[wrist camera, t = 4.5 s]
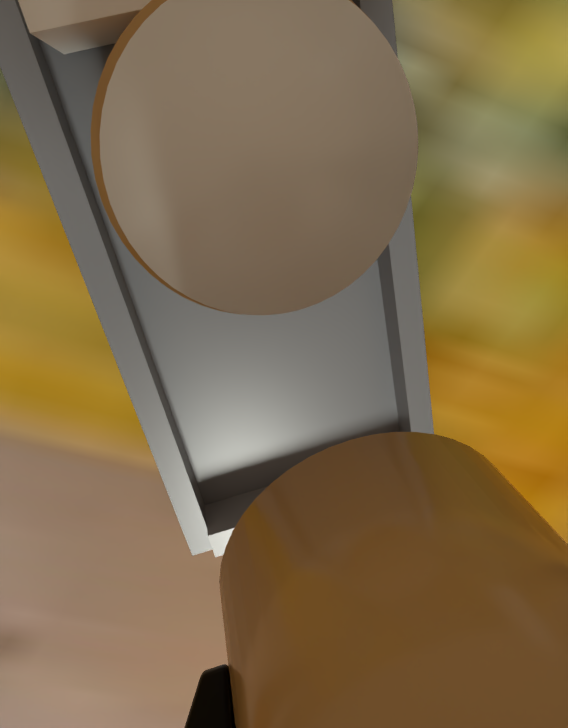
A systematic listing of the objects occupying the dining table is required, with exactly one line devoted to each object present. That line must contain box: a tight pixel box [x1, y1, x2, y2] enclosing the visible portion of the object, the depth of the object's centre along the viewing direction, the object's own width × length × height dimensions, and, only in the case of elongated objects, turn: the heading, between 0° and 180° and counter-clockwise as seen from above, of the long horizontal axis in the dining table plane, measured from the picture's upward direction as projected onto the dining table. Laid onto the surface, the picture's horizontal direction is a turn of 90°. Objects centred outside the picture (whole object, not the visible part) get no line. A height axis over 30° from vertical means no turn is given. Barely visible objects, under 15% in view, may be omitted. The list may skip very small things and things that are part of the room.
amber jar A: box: [91, 0, 418, 315], centre depth 12 cm, size 6×6×7 cm
